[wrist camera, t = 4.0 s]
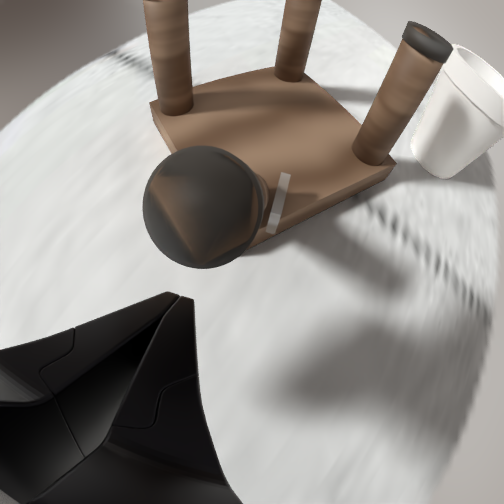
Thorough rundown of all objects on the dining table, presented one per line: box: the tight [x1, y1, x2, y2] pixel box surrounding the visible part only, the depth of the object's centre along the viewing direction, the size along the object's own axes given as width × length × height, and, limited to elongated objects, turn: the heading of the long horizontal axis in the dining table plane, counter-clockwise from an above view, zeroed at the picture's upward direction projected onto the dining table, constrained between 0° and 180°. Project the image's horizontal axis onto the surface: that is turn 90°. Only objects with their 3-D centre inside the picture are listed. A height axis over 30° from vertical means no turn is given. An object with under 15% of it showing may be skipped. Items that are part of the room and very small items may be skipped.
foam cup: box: [411, 44, 504, 179], centre depth 21 cm, size 10×9×13 cm
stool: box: [143, 0, 453, 250], centre depth 18 cm, size 17×17×15 cm
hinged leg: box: [143, 146, 270, 269], centre depth 13 cm, size 3×3×11 cm
